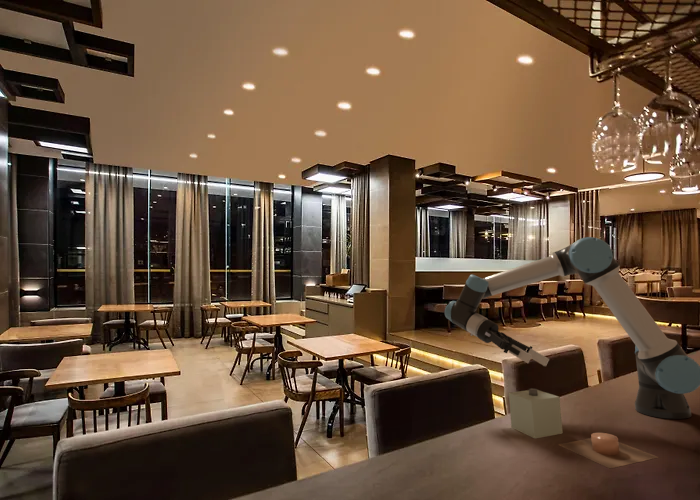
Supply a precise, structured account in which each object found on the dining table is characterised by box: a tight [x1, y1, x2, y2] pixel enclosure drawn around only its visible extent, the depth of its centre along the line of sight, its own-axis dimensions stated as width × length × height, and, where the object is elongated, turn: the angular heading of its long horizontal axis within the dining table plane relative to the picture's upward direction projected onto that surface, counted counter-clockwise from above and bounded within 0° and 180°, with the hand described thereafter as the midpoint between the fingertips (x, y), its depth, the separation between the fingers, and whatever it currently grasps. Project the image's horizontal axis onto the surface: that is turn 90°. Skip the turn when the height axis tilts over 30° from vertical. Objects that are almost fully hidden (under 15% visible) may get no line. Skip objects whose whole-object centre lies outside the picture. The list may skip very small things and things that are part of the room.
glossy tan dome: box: [590, 432, 619, 455], centre depth 107 cm, size 6×6×4 cm
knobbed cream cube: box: [508, 387, 564, 439], centre depth 124 cm, size 10×10×13 cm
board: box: [557, 437, 660, 470], centre depth 106 cm, size 16×16×1 cm
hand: (539, 361), depth 127 cm, fingers open, 13 cm apart
